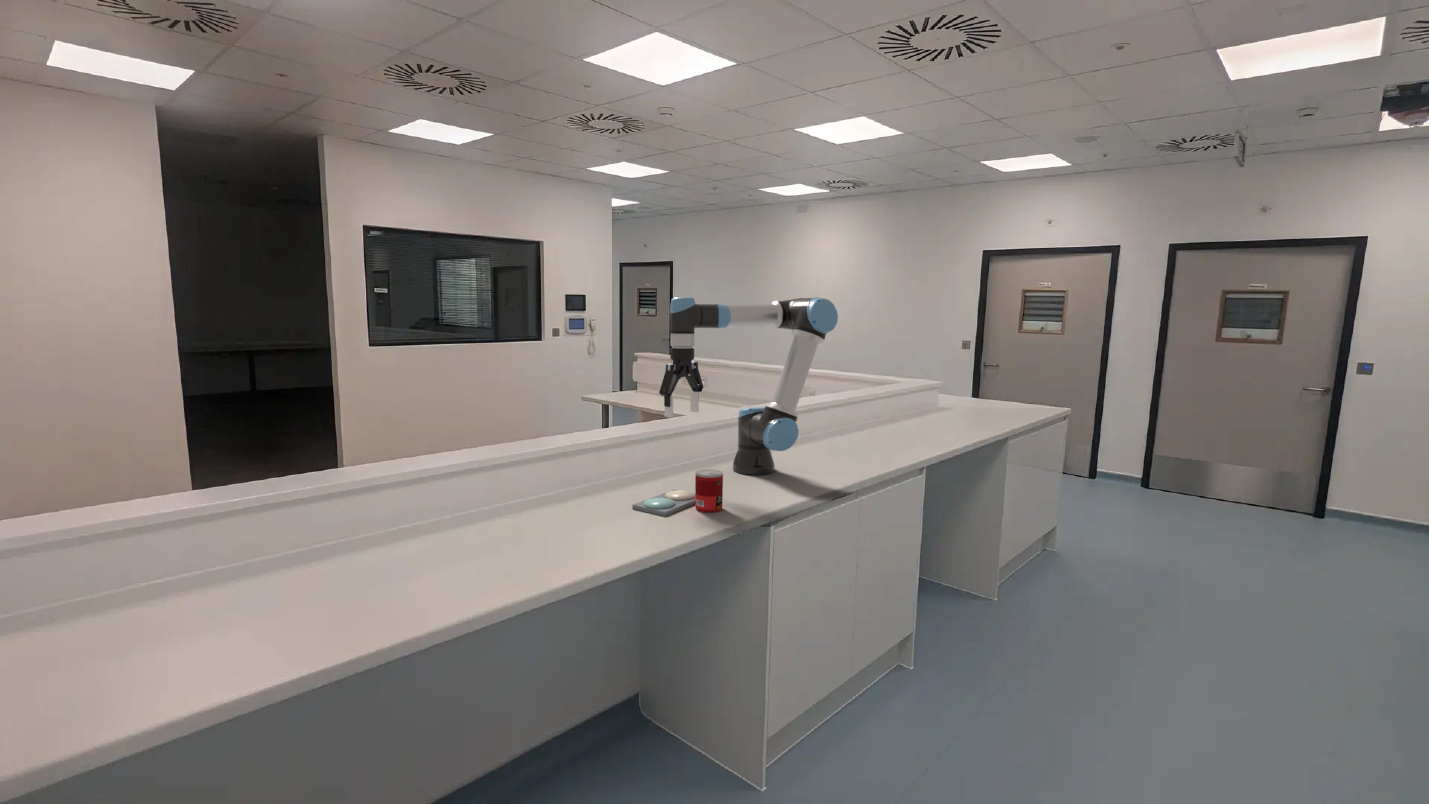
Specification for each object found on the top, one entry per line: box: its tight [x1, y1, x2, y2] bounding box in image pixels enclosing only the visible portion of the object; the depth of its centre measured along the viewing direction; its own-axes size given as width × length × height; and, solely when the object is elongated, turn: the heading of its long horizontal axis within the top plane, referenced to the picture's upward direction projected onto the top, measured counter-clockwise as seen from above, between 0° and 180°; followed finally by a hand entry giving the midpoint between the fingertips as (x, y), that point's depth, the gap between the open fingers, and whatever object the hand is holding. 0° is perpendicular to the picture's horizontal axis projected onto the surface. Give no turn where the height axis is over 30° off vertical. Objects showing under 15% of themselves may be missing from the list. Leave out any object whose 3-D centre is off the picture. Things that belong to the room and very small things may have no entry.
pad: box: [643, 497, 675, 509], centre depth 189 cm, size 9×9×1 cm
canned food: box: [694, 468, 724, 514], centre depth 189 cm, size 8×8×11 cm
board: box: [631, 489, 695, 517], centre depth 194 cm, size 20×12×2 cm, turn 146°
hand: (682, 414), depth 206 cm, fingers open, 13 cm apart
